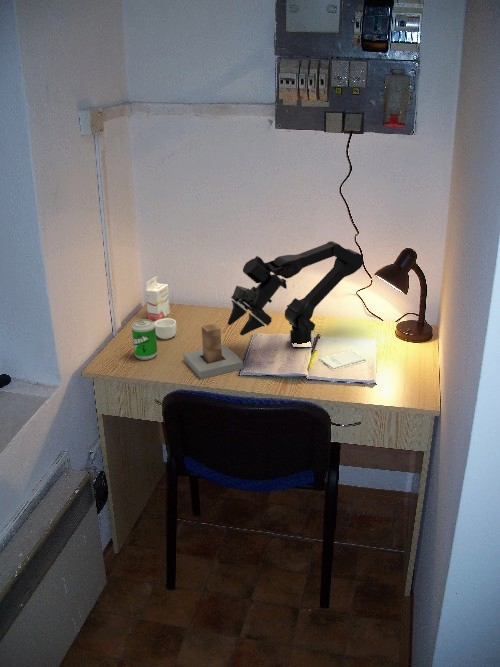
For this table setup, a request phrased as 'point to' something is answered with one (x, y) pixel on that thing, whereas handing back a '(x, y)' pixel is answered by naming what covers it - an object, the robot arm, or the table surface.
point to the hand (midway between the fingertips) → (234, 329)
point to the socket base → (212, 369)
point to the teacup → (165, 328)
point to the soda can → (144, 339)
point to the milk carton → (157, 299)
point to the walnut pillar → (211, 343)
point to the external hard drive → (342, 359)
